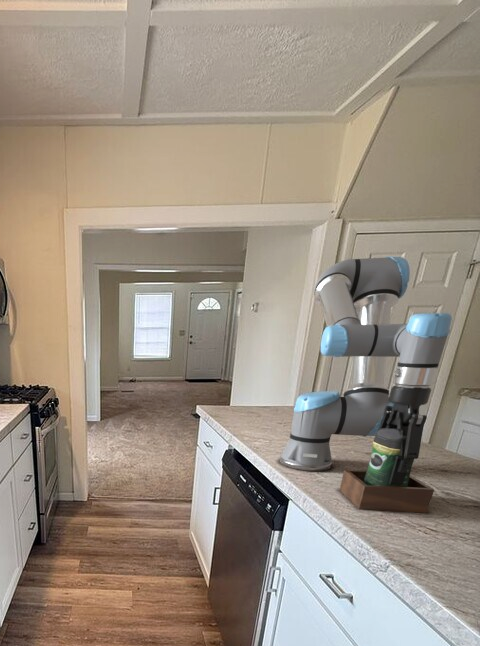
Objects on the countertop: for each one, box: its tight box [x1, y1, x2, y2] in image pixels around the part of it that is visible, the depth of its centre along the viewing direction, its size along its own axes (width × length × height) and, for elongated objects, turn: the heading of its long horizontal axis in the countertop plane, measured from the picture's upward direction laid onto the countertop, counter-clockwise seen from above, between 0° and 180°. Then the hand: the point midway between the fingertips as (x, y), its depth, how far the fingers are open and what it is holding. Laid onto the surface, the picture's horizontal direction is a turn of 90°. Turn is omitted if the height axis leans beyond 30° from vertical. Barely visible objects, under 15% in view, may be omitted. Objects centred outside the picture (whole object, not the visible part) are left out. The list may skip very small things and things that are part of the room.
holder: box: [339, 469, 435, 514], centre depth 103 cm, size 13×15×6 cm
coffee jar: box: [363, 428, 415, 487], centre depth 100 cm, size 10×8×19 cm
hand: (386, 477), depth 102 cm, fingers closed on coffee jar, 9 cm apart
